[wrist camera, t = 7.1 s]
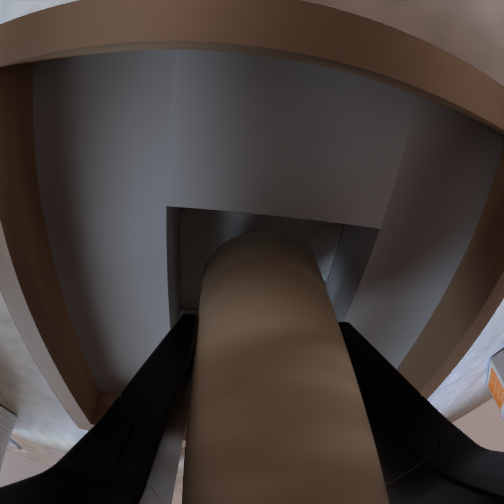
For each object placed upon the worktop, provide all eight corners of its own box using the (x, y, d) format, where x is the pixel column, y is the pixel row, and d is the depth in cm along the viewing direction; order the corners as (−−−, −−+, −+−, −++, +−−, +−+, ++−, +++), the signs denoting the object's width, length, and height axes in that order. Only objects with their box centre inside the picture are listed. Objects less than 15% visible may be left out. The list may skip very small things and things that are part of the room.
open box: (483, 106, 8) (567, 139, 5) (367, 375, 17) (387, 437, 13) (54, 39, 7) (-36, 40, 3) (99, 361, 15) (78, 427, 11)
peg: (331, 237, 10) (432, 492, 3) (303, 324, 12) (343, 527, 5) (206, 225, 9) (171, 525, 3) (201, 318, 11) (186, 536, 5)
